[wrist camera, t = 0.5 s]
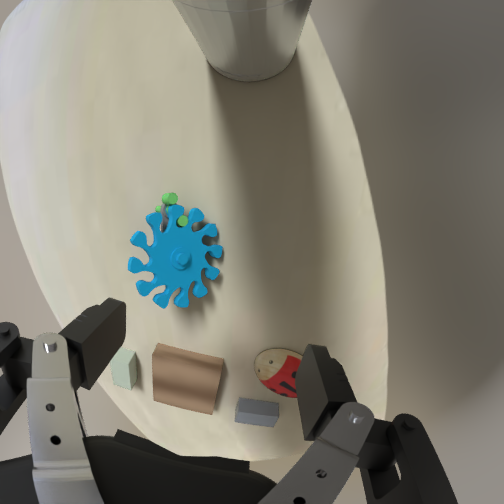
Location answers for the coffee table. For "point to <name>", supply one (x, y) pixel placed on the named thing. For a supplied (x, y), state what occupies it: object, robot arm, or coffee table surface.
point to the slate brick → (256, 412)
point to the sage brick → (124, 368)
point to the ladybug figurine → (278, 370)
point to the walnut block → (185, 378)
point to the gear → (175, 253)
